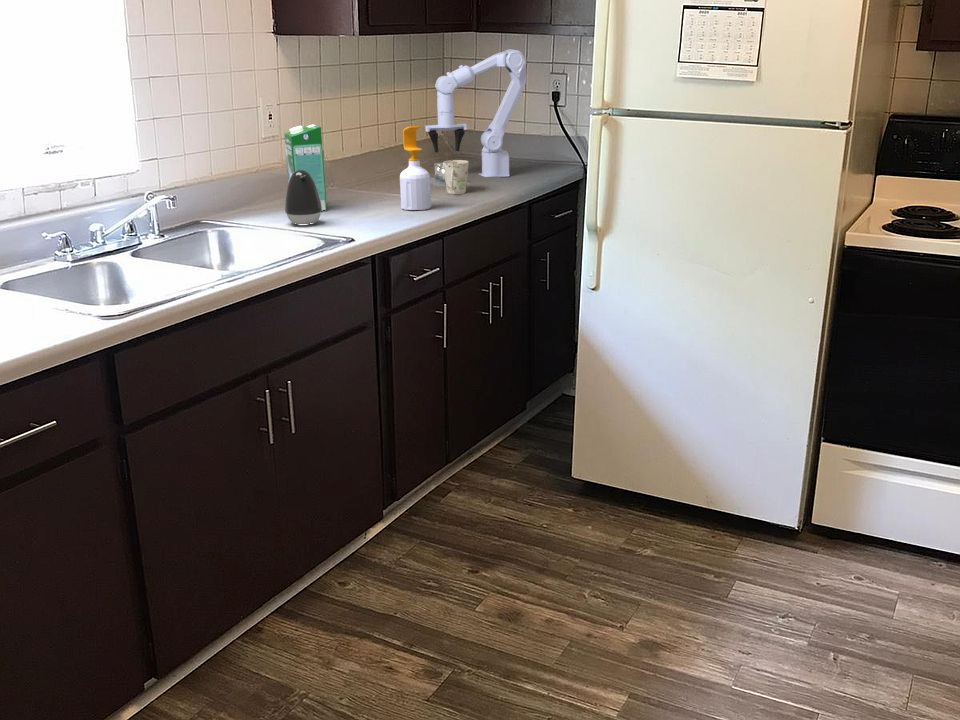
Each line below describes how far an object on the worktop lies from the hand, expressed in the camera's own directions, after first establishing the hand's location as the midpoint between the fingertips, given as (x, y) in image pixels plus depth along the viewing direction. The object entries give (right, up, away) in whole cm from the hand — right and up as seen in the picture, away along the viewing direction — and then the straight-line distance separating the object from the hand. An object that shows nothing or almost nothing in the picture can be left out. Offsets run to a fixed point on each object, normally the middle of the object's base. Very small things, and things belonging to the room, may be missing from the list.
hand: (446, 151), depth 344 cm
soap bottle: (-8, -28, -48) cm, 56 cm away
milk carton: (-40, -28, -48) cm, 69 cm away
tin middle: (0, -11, -5) cm, 12 cm away
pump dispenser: (-38, -35, -67) cm, 85 cm away
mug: (+4, -20, -26) cm, 33 cm away
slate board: (0, -12, -6) cm, 13 cm away
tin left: (-2, -9, 0) cm, 10 cm away
